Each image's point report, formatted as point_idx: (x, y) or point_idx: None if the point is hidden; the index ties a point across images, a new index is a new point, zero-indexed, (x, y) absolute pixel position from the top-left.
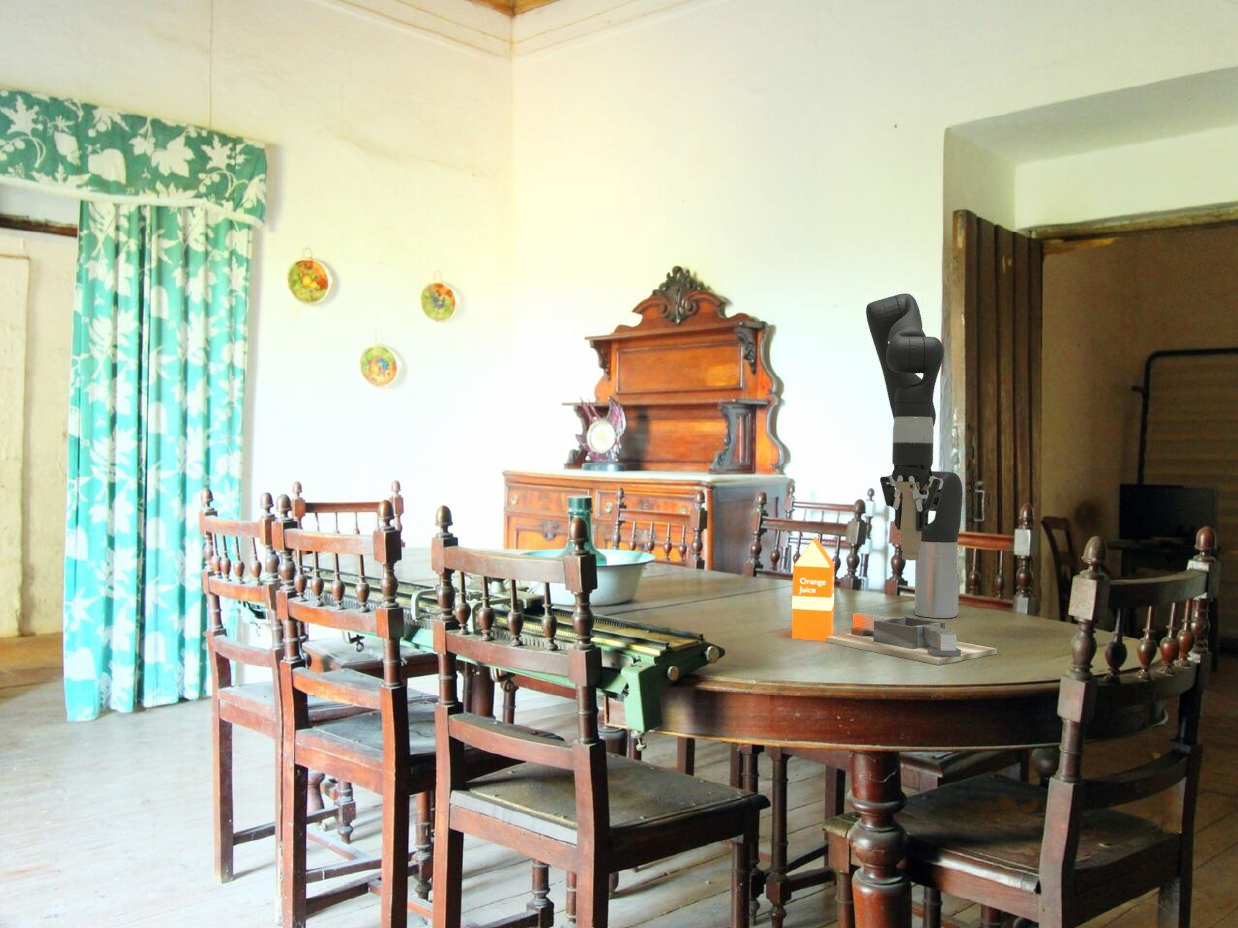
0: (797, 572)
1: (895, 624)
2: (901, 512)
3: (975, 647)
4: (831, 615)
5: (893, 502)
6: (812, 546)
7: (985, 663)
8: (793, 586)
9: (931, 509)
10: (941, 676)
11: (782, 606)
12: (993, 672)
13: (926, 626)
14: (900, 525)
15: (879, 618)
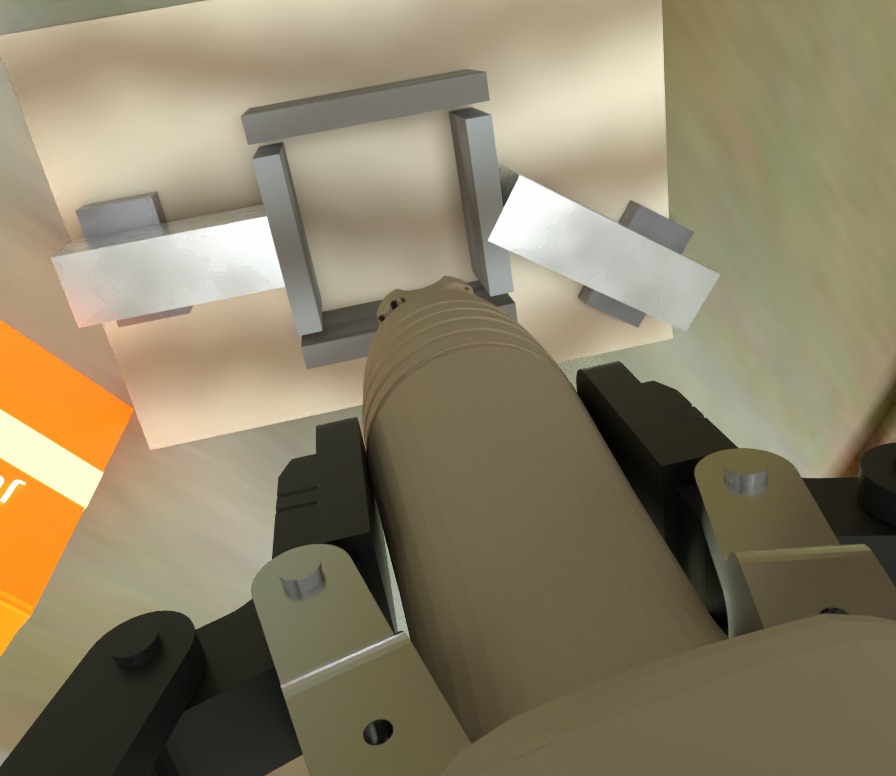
0: None
1: None
2: (391, 610)
3: (593, 2)
4: (49, 418)
5: (257, 761)
6: None
7: (734, 147)
8: None
9: (831, 480)
10: (766, 432)
11: None
12: (830, 242)
13: (521, 245)
14: (380, 522)
15: (247, 293)
